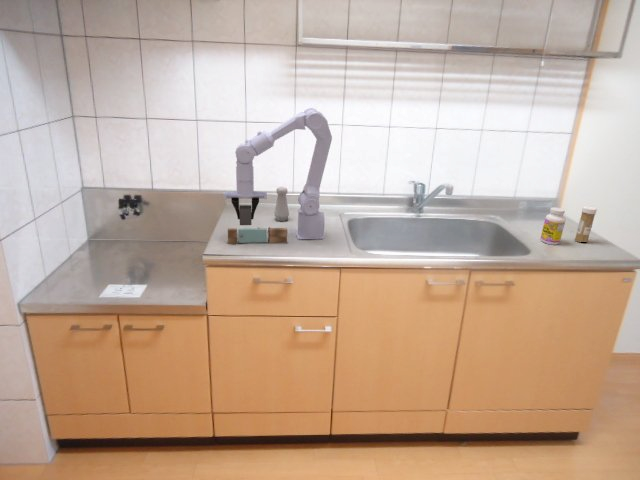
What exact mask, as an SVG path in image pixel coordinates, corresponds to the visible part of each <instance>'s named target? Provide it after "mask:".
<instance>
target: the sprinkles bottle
mask: <svg viewBox="0 0 640 480" xmlns="http://www.w3.org/2000/svg"><path fill="white" fill-rule="evenodd" d="M597 210H598V209H597V207H594V206H590V205H585V206H582V208H581V215H580V218H579V222H578V226H577V229H576V233H575V238H574V241H575V240H576V241H578V242H577V243H579V242H587V243H589V237H590V235H591V231H592V228H593V224H594V219H595V215H596V214H597ZM576 241H575V242H576Z"/></svg>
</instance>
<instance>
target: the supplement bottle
mask: <svg viewBox="0 0 640 480" xmlns="http://www.w3.org/2000/svg"><path fill="white" fill-rule="evenodd" d="M549 212H550V213H549V214H547V215H546V216H545V219H544V223H543V227H542V230H541V235H540V241H541V242H542V243H544V244H547V245H553V246H555V245H556V246H557V245H559V244H560V243H561V239H562V236H563V235H562V234H563V231H564V228H565V223H566V217H565V216H564V215H565V212H566V211H565V209H564V208H561V207H553V206H552V207H550V210H549Z"/></svg>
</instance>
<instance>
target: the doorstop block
mask: <svg viewBox="0 0 640 480" xmlns="http://www.w3.org/2000/svg"><path fill="white" fill-rule="evenodd" d="M251 212H252V204H250V205H249V204H247V205H246V204H242V205H241V204H239V213H240V219H239V226H252V219H251Z"/></svg>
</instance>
